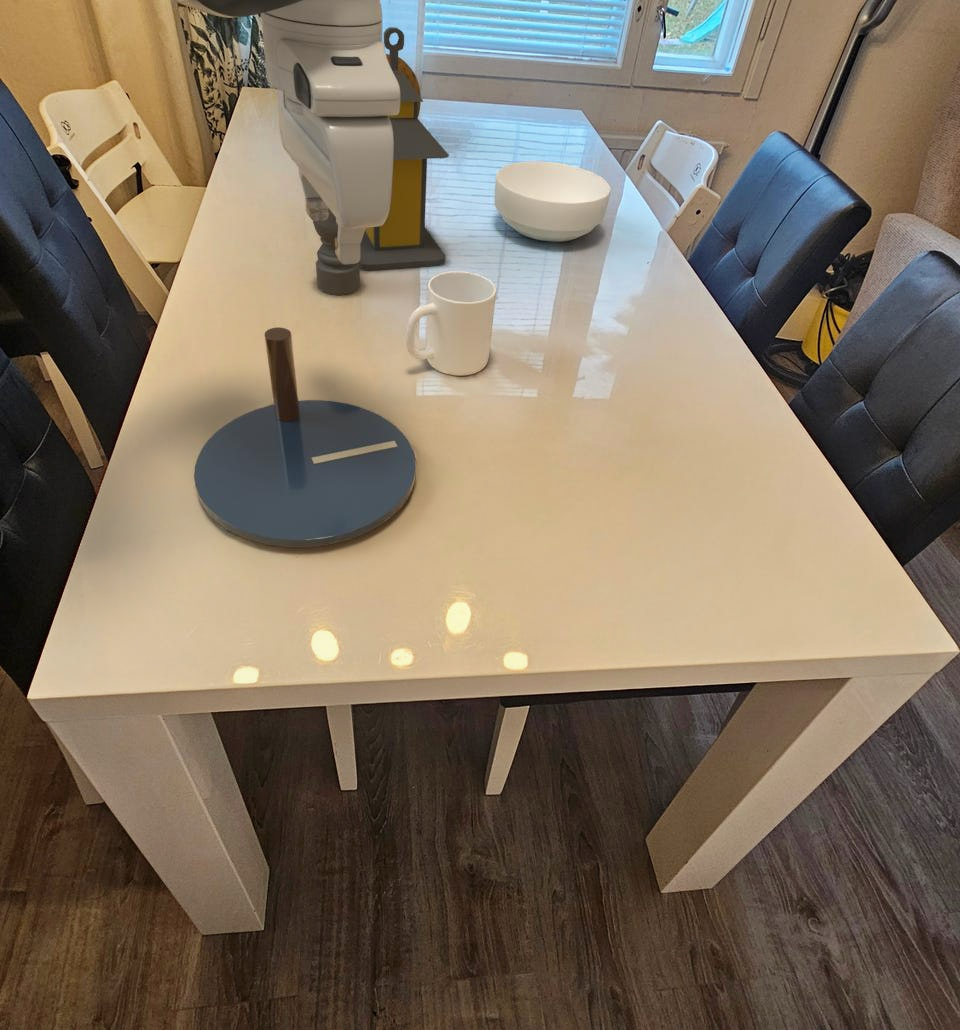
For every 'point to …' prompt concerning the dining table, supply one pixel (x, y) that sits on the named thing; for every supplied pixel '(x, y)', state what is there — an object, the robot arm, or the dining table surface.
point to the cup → (455, 323)
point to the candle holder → (333, 262)
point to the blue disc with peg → (303, 466)
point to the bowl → (550, 199)
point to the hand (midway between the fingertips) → (332, 238)
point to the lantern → (405, 187)
